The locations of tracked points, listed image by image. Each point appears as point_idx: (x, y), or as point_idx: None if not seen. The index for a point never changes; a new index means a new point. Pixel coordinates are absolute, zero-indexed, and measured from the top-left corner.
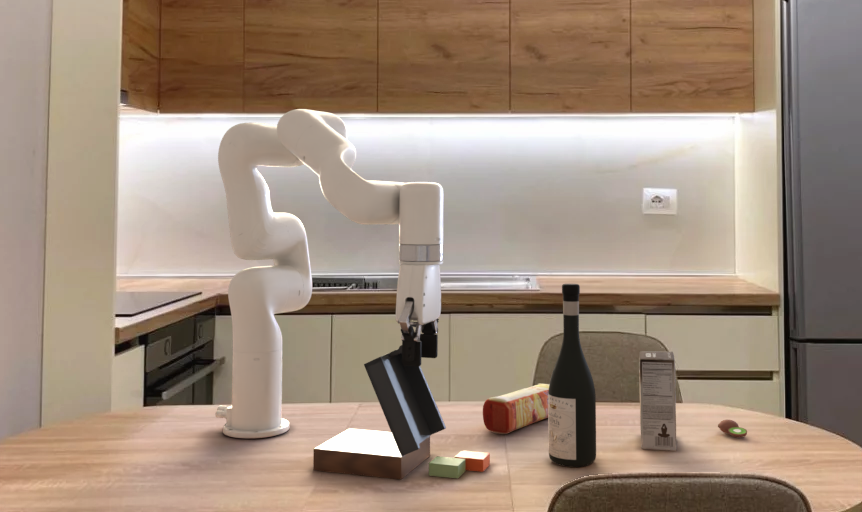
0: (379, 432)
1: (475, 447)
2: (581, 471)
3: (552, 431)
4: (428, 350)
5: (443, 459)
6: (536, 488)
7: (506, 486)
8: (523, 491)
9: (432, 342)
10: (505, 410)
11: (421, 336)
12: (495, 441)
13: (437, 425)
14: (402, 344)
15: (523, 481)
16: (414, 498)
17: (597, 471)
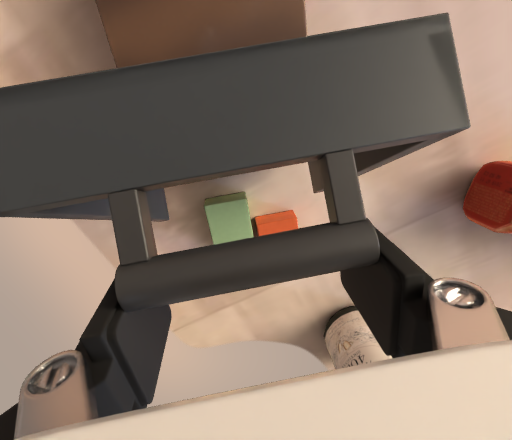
0: (292, 23)
1: (379, 190)
2: (317, 345)
3: (346, 349)
4: (352, 272)
5: (233, 217)
6: (233, 332)
7: (221, 304)
8: (215, 325)
9: (368, 317)
10: (494, 222)
11: (386, 285)
12: (422, 202)
13: (314, 179)
14: (91, 321)
15: (250, 311)
16: (104, 232)
17: (324, 356)
